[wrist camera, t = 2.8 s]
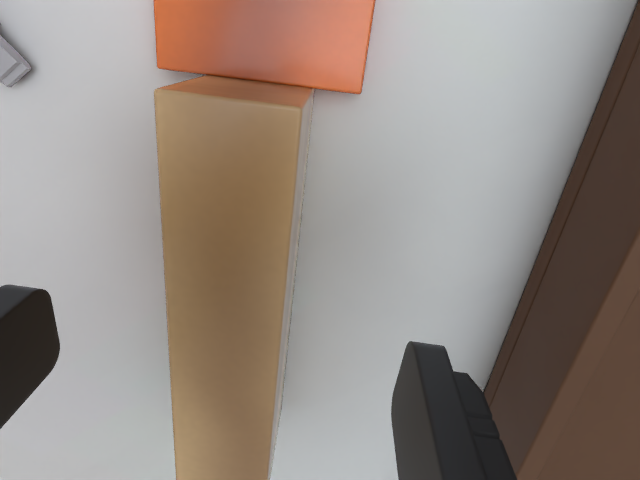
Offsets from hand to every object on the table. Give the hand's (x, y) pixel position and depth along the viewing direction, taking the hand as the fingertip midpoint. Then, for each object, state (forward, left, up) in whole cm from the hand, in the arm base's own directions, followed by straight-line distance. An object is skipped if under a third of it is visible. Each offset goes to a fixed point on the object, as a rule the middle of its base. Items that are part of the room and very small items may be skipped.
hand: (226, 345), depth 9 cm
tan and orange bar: (-1, +2, -6) cm, 7 cm away
